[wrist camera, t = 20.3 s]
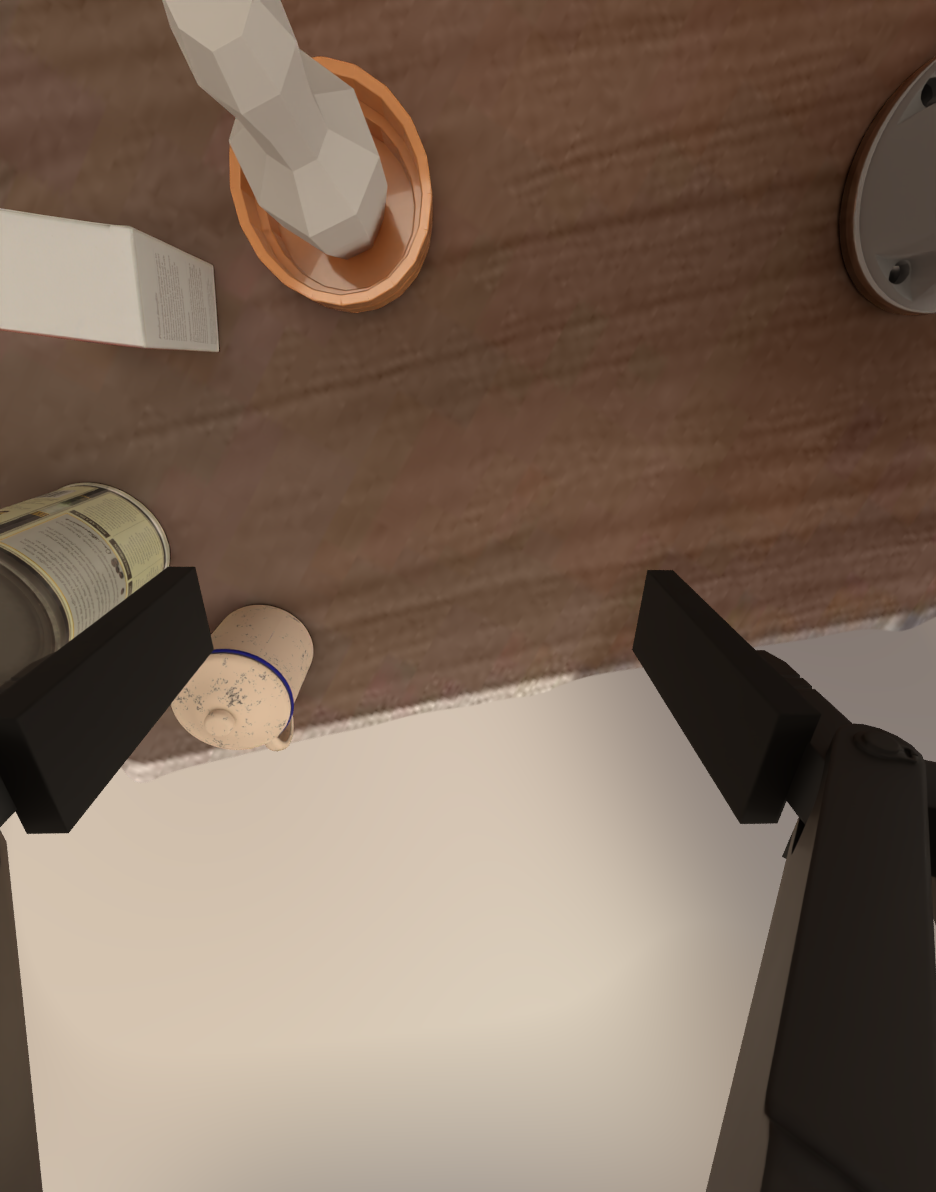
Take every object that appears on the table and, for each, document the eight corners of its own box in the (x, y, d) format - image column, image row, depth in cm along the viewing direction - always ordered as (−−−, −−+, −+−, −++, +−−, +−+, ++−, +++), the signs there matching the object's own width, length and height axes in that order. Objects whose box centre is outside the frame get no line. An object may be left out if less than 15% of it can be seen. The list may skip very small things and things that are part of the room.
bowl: (414, 91, 31) (410, 39, 26) (444, 299, 36) (445, 288, 31) (236, 122, 31) (198, 76, 26) (289, 324, 36) (265, 318, 31)
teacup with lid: (196, 617, 45) (122, 694, 34) (291, 588, 44) (245, 658, 34) (257, 719, 50) (209, 815, 39) (344, 695, 49) (318, 785, 39)
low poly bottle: (348, 294, 35) (228, 201, 15) (275, 208, 33) (21, -35, 13) (414, 221, 33) (380, 9, 13) (343, 127, 31) (175, -296, 11)
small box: (104, 338, 36) (-17, 329, 26) (90, 245, 33) (-49, 197, 24) (222, 354, 37) (146, 351, 27) (216, 264, 34) (130, 225, 25)
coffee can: (121, 621, 45) (-6, 724, 32) (12, 534, 41) (-181, 612, 28) (198, 552, 43) (95, 633, 30) (90, 454, 39) (-81, 498, 26)
